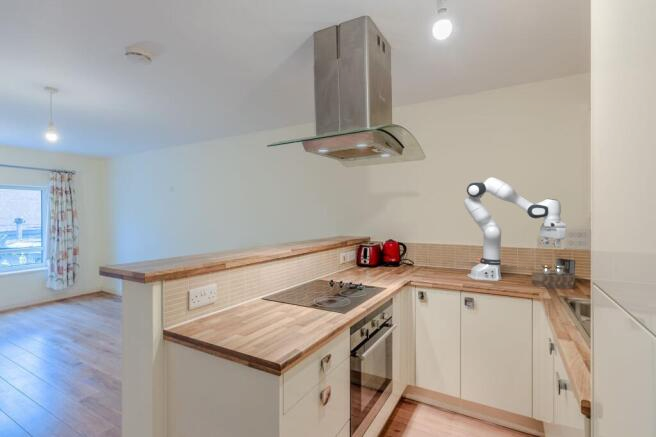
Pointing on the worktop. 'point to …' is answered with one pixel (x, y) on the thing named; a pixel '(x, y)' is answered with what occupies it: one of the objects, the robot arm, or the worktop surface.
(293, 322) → the worktop surface
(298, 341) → the worktop surface
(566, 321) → the worktop surface
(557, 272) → the peg
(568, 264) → the coffee box
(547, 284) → the socket block
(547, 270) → the peg
